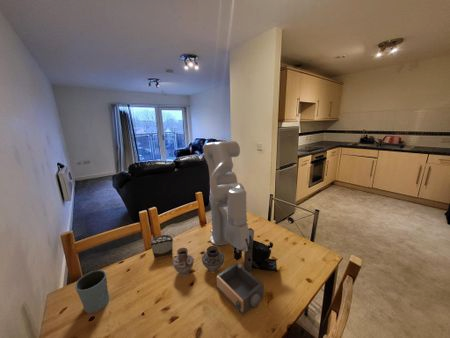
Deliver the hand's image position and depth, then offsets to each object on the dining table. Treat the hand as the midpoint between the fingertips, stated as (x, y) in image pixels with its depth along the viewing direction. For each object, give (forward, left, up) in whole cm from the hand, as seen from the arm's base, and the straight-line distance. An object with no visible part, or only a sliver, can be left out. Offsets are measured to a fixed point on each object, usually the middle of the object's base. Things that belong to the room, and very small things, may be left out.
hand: (237, 258), depth 81 cm
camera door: (+3, -8, -13) cm, 16 cm away
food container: (-43, -17, -15) cm, 49 cm away
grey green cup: (-32, -50, -15) cm, 61 cm away
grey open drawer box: (+3, -2, -15) cm, 15 cm away
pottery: (-19, -8, -15) cm, 26 cm away
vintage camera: (0, +15, -15) cm, 21 cm away
